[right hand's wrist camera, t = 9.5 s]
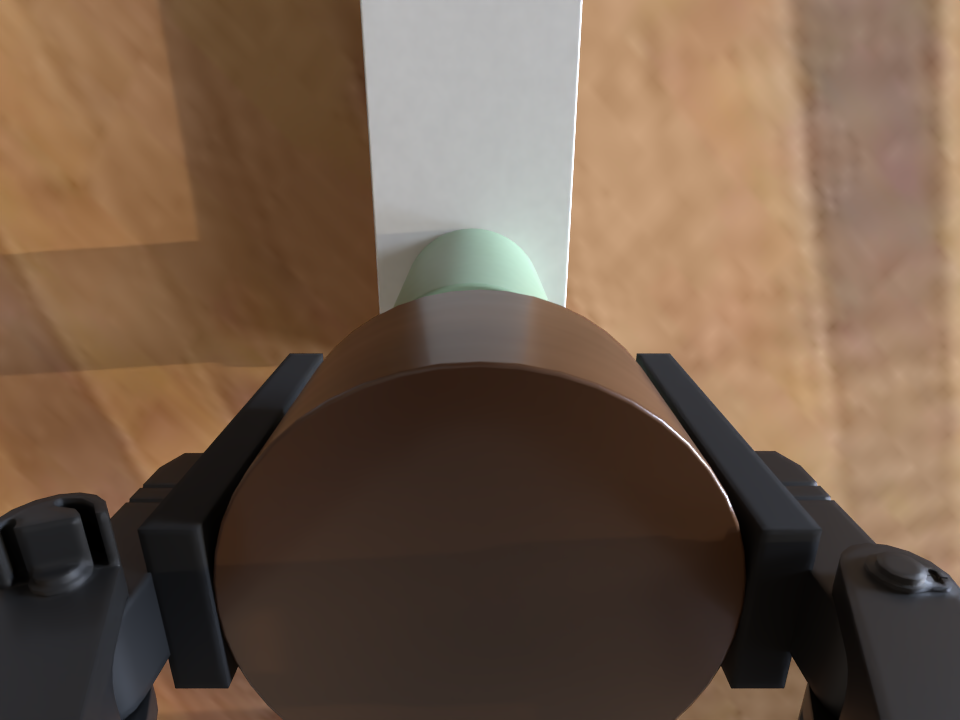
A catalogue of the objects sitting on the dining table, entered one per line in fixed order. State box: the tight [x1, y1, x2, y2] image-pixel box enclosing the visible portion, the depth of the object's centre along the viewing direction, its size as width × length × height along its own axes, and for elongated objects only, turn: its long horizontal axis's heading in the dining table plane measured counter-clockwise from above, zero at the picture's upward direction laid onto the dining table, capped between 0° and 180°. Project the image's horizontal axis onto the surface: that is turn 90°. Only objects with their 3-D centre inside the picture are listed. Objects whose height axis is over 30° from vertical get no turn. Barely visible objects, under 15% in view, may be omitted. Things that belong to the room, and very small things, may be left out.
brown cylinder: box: [213, 290, 746, 720], centre depth 10 cm, size 7×7×4 cm
